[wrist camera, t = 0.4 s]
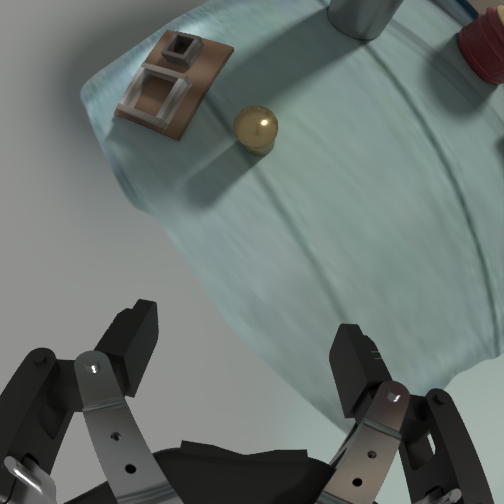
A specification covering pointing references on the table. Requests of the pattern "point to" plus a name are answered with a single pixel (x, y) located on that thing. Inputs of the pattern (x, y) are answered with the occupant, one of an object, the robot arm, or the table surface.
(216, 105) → the table surface
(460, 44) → the canister
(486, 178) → the table surface
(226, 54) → the collar base
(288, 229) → the table surface
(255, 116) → the gold round-topped cylinder
